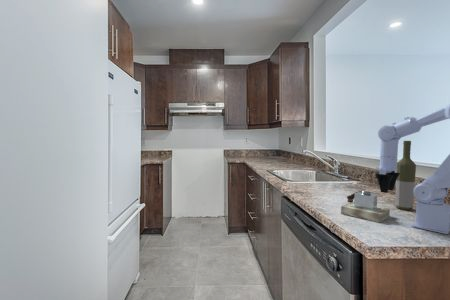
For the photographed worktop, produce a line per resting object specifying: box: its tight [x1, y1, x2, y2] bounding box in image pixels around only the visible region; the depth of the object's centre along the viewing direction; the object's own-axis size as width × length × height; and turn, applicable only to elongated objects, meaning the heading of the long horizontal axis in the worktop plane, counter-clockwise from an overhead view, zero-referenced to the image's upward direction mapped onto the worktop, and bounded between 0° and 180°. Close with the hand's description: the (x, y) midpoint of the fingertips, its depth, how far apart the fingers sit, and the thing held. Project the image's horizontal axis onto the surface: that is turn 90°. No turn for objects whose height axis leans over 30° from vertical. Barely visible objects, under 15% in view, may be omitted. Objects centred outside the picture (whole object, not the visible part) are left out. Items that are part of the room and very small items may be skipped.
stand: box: [340, 201, 391, 223], centre depth 103 cm, size 14×12×3 cm
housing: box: [353, 190, 378, 209], centre depth 102 cm, size 7×4×6 cm, turn 44°
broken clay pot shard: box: [346, 190, 363, 203], centre depth 116 cm, size 12×10×8 cm
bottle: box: [395, 140, 417, 211], centre depth 113 cm, size 7×7×30 cm
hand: (387, 191), depth 101 cm, fingers open, 7 cm apart
